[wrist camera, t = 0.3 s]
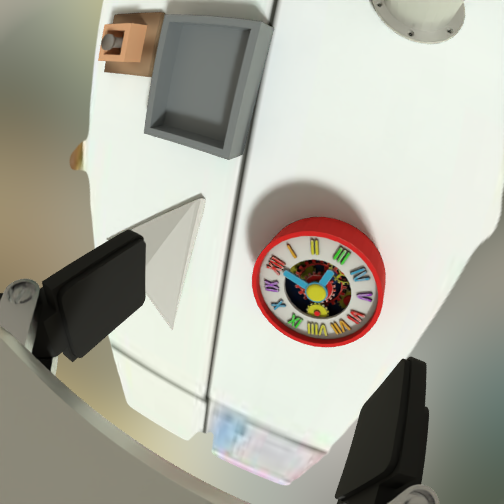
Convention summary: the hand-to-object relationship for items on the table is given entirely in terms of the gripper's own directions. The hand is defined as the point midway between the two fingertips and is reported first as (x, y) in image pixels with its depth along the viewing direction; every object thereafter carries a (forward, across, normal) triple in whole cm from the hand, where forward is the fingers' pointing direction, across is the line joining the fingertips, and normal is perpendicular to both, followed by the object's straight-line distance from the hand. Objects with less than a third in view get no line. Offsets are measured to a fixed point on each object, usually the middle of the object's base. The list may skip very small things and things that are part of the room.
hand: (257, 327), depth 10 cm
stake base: (+36, +43, -10) cm, 57 cm away
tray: (+36, +25, -4) cm, 44 cm away
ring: (+35, +43, -10) cm, 56 cm away
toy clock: (+37, -1, +20) cm, 42 cm away
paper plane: (+37, +34, +31) cm, 59 cm away
